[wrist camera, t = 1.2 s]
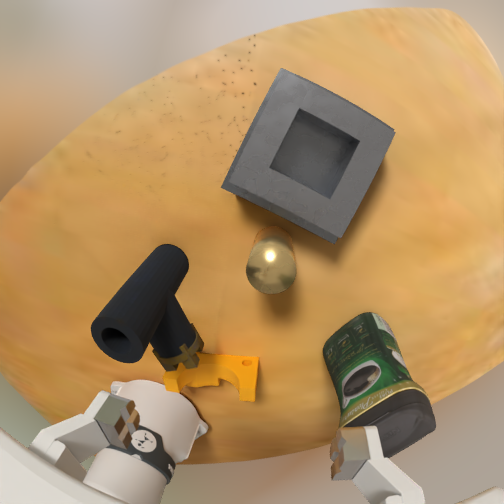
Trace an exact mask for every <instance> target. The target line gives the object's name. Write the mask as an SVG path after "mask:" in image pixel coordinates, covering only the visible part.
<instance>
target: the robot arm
mask: <svg viewBox="0 0 504 504" xmlns="http://www.w3.org/2000/svg"><path fill="white" fill-rule="evenodd" d="M207 430H208V425H207V424H206V423H205V422H204V421H202V420H201V419H200V417H199V416H198V414H197V411H196V409H195V408H194V406H193V405H192V404H191V403H190V402H189V401H188V400H187V399H186V398H185V397H184V396H182V395H181V394H180V393H176V392H170V391H166V389H165V385H162V384H160V383H157V382H153V381H148V380H133V381H130V382H118V381H114V382H112V385H111V393H109V392H106V391H103V390H102V391H101V392H99V393H98V395H97V396H96V398H95V399H94V400H93V402H92V403H91V405H90V406H89V407H88V409H87V410H86V412H85V413H84V414H79V415H77V416H74V417H72V418H70V419H67V420H65V421H62V422H60V423H57V424H55V425H53V426H50V427H48V428H45V429H43V430H41V431H40V433H39V434H38V435H37V437H36V438H35V439H34V441H33V442H32V443H31V445H30V446H29V447H28V448H26V447H25V446H24V445H22V444H21V443H20V442H18V441H17V440H16V439H14V438H13V437H12V436H11V435H9V434H8V433H7V432H6V431H4V430H3V429H2V428H1V427H0V504H160V502H161V498H162V495H163V492H164V489H165V486H166V485H167V484H169V482H170V480H171V478H172V477H173V474H174V469H175V466H176V465H175V464H176V463H178V462H181V461H183V460H185V459H187V458H188V456H189V454H190V451H191V448H192V445H193V443H194V440H196V439H197V438H199V437H200V436H202V435H203V434H205V433H206V432H207ZM96 453H98V454H97V455H96V457H95V459H94V461H93V463H92V465H91V467H90V469H89V470H88V472H87V471H86V470H85V468H83V466H82V465H81V464H80V463H81V462H83V461H85V460H86V459H88V458H90V457H91V456H93V455H95V454H96ZM330 459H331V460H332V461H333V462H334V463H333V465H332V466H331V478H332V480H352V481H353V483H354V484H355V485H356V486H357V488H358V489H359V490H360V492H361V493H362V494H363V495H364V496H365V498H366V499H367V500H368V501H369V503H370V504H425V500H424V495H423V491H422V488H421V487H420V486H419V485H417V484H416V483H415V482H414V481H413V480H412V479H410V478H409V477H408V476H407V475H406V474H405V473H404V472H403V471H401V470H400V469H399V468H398V467H397V466H396V465H395V464H394V463H393V462H392V461H390V460H389V459H388V458H384V456H383V451H382V447H381V442H380V438H379V434H378V429H377V427H376V426H365V427H363V426H360V427H344V428H338V429H337V431H336V437H335V438H333V440H332V443H331V447H330ZM456 504H504V490H503V489H501V488H499V487H492V488H490V489H487V490H485V491H483V492H481V493H479V494H477V495H475V496H473V497H471V498H468V499H466V500H463V501H461V502H458V503H456Z"/></svg>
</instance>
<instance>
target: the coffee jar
mask: <svg viewBox="0 0 504 504" xmlns="http://www.w3.org/2000/svg"><path fill="white" fill-rule="evenodd" d="M323 355H324V359H325V362H326V365H327V368H328V371H329V373H330V376H331V378H332V381H333V384H334V387H335V390H336V393H337V396H338V400H339V404H340V410H341V418H340V423H339V428H344V427H360V426H363V427H365V426H376V427H377V429H378V434H379V438H380V442H381V447H382V451H383V456H384V458H390V457H392V456H393V455H395V454H397V453H399V452H400V451H402V450H404V449H405V448H407V447H409V446H410V445H412V444H414V443H415V442H417V441H418V440H420V439H422V438H423V437H424V436H426V435H427V434H429V433H431V432H433V431H434V430H435V428H436V422H435V417H434V414H433V411H432V407H431V404H430V399H429V397H428V395H427V394H426V392H425V391H424V389H423V388H422V387H421V386H419V385H418V384H417V383H415V382H414V381H413V380H412V378H411V376H410V374H409V372H408V370H407V368H406V365H405V363H404V360H403V358H402V355H401V352H400V349H399V347H398V344H397V341H396V339H395V336H394V334H393V332H392V330H391V328H390V327H389V325H388V324H387V323H386V321H385V320H384V319H383V318H382V317H380V316H379V315H377V314H375V313H371V312H367V313H362V314H360V315H358V316H356V317H355V318H353V319H352V320H350V321H349V322H348V323H346V324H345V325H344V326H342V327H341V328H340V329H339V330H338V331H337V332H335V333H334V334H333V335H332V336H331V337H330V338H329V339H328V340H327V341H326V343H325V345H324V348H323Z"/></svg>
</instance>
